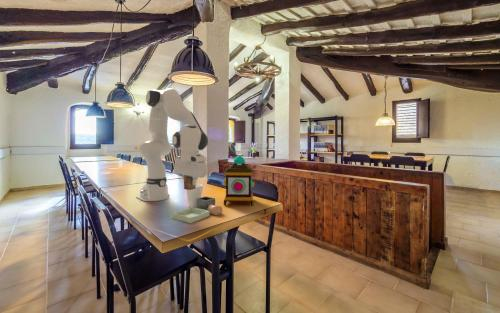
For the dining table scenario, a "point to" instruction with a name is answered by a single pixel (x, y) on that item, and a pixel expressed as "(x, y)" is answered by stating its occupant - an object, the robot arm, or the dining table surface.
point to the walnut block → (188, 183)
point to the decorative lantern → (238, 182)
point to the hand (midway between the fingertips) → (189, 184)
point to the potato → (214, 209)
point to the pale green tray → (190, 214)
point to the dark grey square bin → (205, 202)
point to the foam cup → (194, 195)
